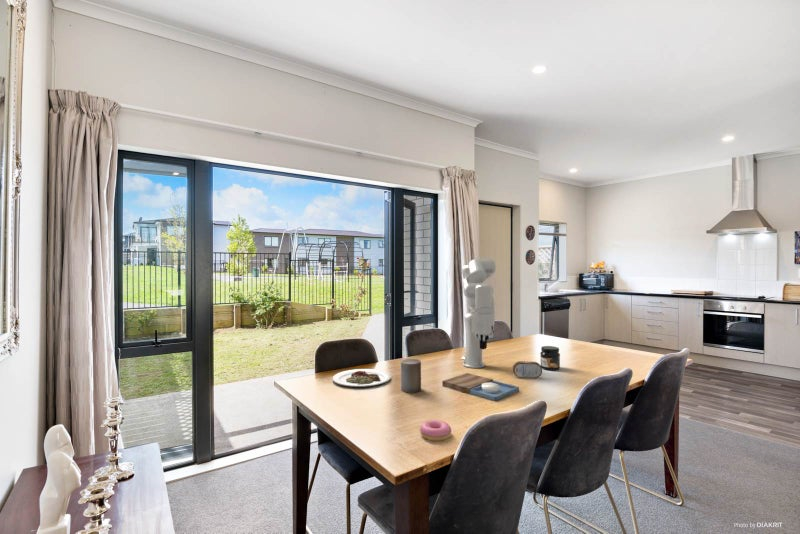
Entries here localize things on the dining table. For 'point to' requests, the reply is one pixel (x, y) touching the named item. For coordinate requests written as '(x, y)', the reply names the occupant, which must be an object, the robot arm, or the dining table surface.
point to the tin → (527, 369)
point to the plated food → (361, 377)
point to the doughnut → (435, 430)
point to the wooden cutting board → (465, 382)
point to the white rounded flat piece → (490, 387)
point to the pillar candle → (411, 375)
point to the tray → (503, 392)
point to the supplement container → (550, 358)
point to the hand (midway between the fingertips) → (483, 348)
